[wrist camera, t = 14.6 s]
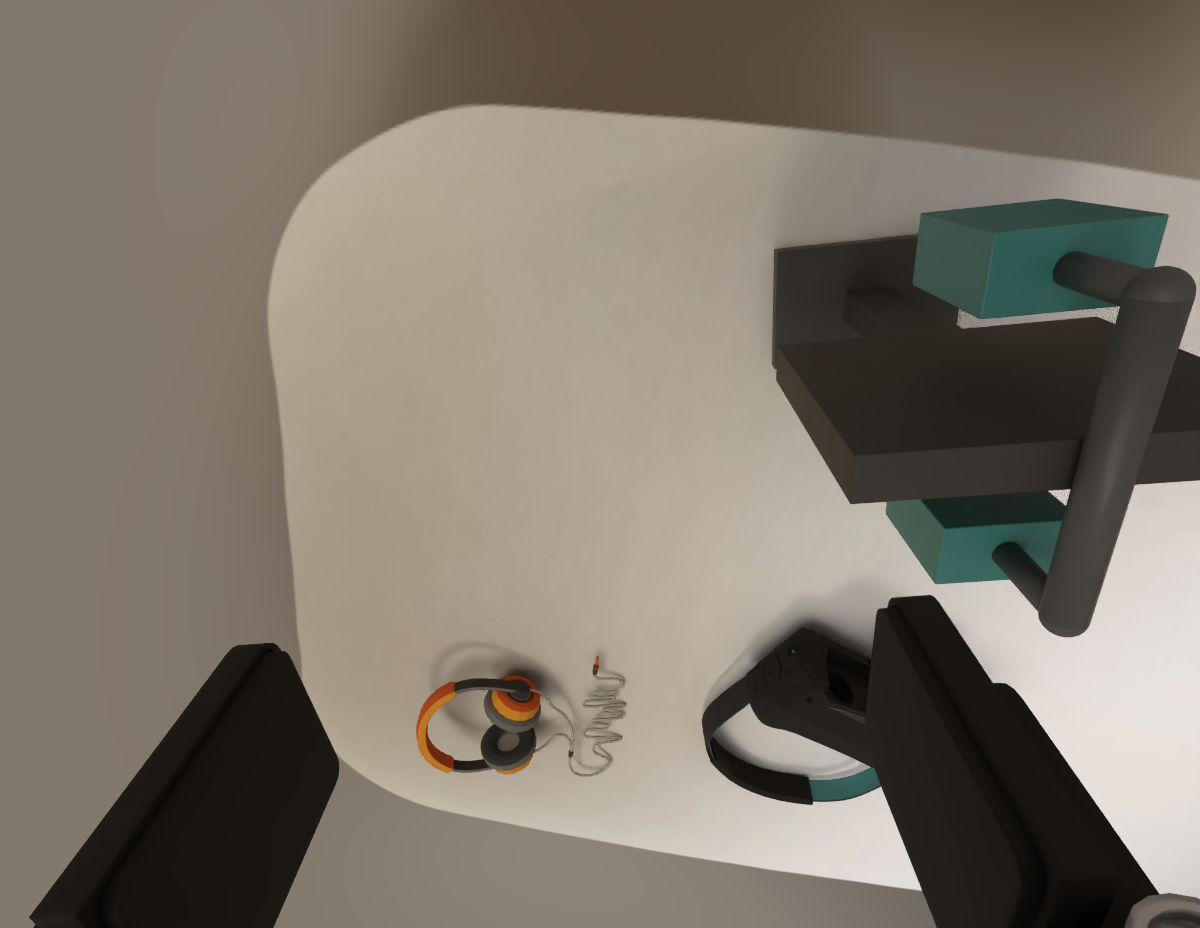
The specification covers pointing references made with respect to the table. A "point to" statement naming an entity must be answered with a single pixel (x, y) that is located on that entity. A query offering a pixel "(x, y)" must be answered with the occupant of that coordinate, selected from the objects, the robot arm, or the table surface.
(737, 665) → the table surface
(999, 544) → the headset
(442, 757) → the headphones
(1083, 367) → the monitor
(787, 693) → the virtual reality headset
